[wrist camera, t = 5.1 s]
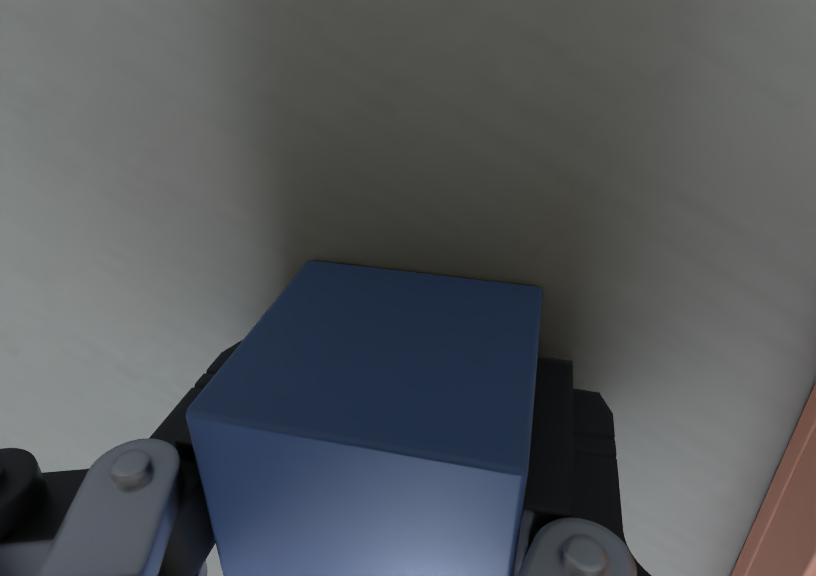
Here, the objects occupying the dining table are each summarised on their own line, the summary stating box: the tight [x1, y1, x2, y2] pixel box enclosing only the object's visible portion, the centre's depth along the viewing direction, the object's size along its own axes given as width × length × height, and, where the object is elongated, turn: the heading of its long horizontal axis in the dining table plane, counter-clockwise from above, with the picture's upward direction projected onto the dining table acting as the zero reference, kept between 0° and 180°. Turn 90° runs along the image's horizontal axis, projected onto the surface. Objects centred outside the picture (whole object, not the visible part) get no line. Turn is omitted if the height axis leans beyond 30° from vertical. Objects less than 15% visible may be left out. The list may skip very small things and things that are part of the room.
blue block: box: [186, 260, 543, 576], centre depth 10 cm, size 4×4×4 cm
